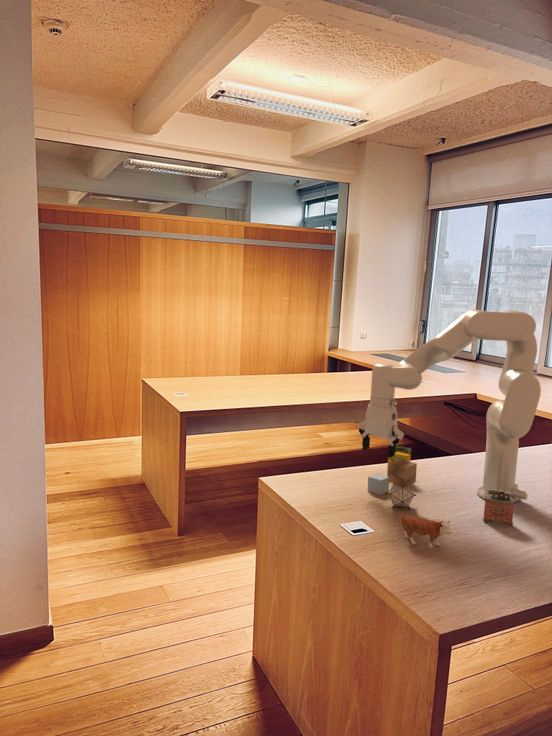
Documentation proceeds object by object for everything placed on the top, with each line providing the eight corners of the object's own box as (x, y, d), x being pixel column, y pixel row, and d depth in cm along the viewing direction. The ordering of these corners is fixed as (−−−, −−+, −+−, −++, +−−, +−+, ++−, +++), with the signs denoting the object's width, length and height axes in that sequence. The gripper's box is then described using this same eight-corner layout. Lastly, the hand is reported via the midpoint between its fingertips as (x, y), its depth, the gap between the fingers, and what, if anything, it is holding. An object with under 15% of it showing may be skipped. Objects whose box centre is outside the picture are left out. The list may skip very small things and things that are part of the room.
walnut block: (415, 482, 168) (416, 463, 167) (405, 487, 164) (406, 467, 163) (398, 477, 172) (399, 458, 171) (388, 481, 168) (388, 463, 167)
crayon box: (386, 478, 193) (388, 446, 191) (389, 476, 196) (391, 444, 194) (406, 482, 189) (408, 450, 187) (409, 480, 192) (411, 448, 190)
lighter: (512, 522, 159) (515, 490, 157) (513, 527, 156) (516, 494, 154) (482, 518, 162) (485, 486, 160) (482, 523, 158) (485, 490, 157)
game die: (403, 516, 171) (420, 489, 173) (407, 517, 163) (425, 489, 164) (378, 499, 173) (395, 472, 174) (381, 500, 165) (399, 472, 166)
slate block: (388, 491, 182) (389, 476, 181) (380, 495, 178) (381, 480, 177) (376, 487, 185) (376, 472, 184) (367, 491, 182) (368, 476, 181)
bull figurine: (449, 555, 140) (451, 525, 138) (398, 541, 147) (400, 512, 145) (454, 548, 143) (456, 519, 142) (404, 535, 150) (405, 507, 149)
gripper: (411, 405, 174) (407, 457, 177) (366, 395, 186) (362, 444, 188) (399, 408, 168) (394, 462, 171) (353, 398, 180) (349, 448, 183)
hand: (378, 452), depth 180 cm, fingers open, 9 cm apart
